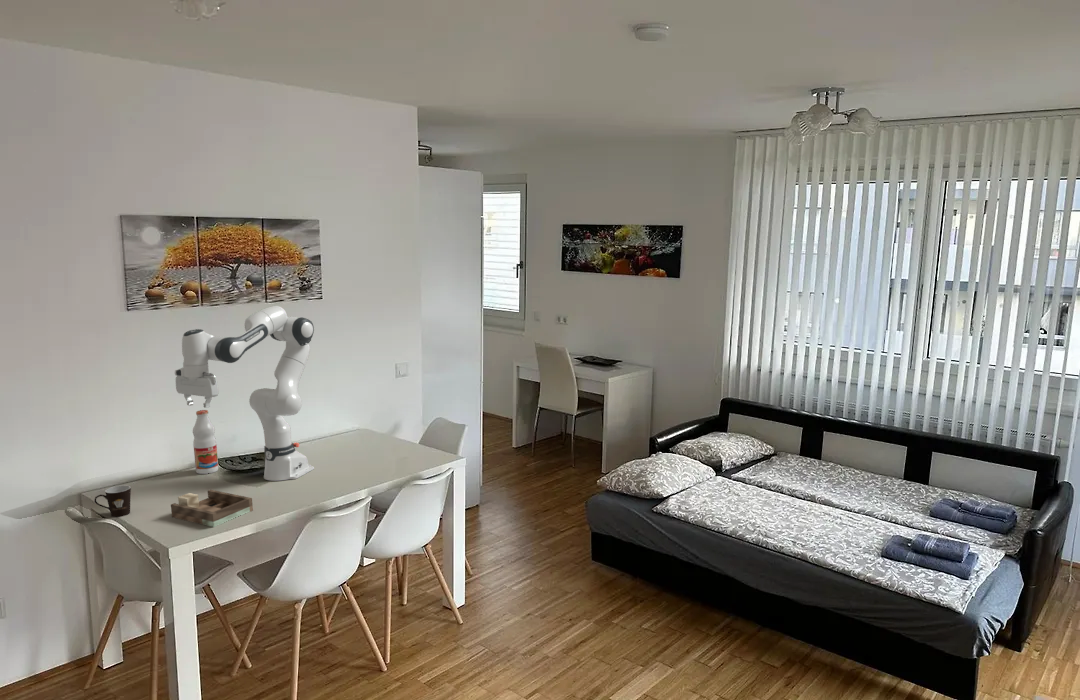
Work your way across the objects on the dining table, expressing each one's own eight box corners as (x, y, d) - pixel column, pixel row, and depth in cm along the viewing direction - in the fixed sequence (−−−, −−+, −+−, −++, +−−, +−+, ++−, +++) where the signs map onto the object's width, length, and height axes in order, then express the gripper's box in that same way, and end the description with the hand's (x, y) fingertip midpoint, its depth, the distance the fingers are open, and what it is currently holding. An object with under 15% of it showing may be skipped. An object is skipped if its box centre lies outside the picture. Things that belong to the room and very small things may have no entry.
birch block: (190, 505, 287) (189, 492, 286) (199, 507, 284) (198, 494, 284) (179, 509, 282) (178, 497, 281) (188, 511, 280) (187, 499, 279)
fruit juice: (213, 466, 341) (208, 407, 336) (222, 470, 335) (217, 410, 330) (192, 471, 334) (186, 411, 330) (201, 475, 328) (195, 414, 323)
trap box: (171, 517, 280) (170, 504, 279) (211, 501, 296) (210, 489, 295) (214, 527, 270) (212, 514, 269) (252, 510, 286) (252, 498, 285)
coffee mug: (137, 509, 288) (135, 485, 287) (126, 517, 280) (123, 492, 278) (107, 510, 288) (104, 485, 287) (95, 518, 280) (92, 493, 278)
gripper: (221, 372, 285) (223, 407, 287) (185, 368, 294) (188, 402, 296) (207, 374, 279) (210, 410, 281) (171, 370, 289) (174, 405, 290)
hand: (198, 406), depth 289 cm, fingers open, 8 cm apart
